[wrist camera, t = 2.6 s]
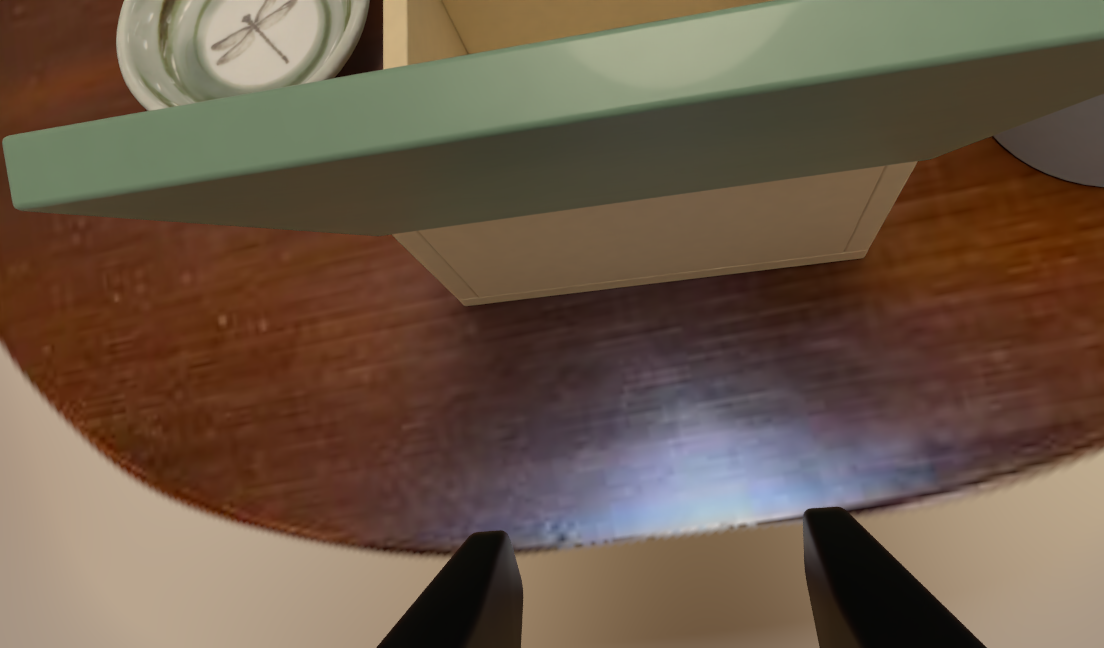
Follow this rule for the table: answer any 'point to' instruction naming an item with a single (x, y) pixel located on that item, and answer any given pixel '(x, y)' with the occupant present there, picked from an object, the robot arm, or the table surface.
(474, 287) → the open box
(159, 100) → the saucer
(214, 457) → the table surface
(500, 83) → the lid
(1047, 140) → the stepped grey cylinder
